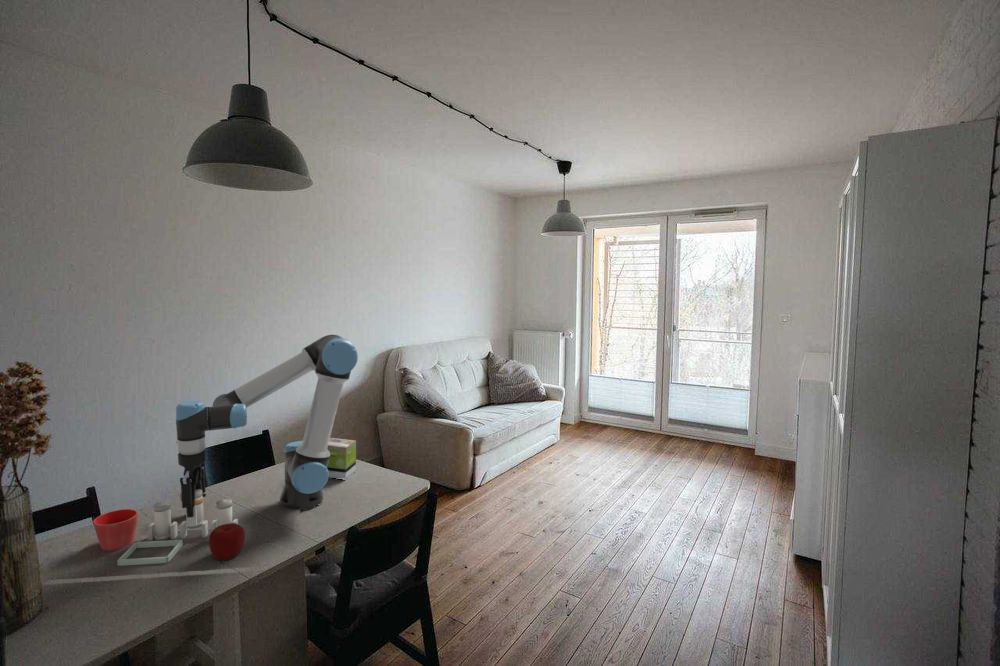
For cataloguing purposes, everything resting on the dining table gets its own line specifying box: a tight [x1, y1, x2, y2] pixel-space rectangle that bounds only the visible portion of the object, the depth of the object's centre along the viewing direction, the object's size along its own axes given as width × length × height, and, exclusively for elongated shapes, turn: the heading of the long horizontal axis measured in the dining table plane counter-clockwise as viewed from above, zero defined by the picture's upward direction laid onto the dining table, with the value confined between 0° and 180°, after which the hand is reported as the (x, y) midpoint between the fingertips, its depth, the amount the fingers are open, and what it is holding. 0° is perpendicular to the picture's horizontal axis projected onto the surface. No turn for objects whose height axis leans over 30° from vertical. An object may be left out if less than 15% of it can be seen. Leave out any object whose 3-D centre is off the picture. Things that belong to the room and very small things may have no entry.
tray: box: [116, 540, 184, 567], centre depth 152 cm, size 13×10×2 cm
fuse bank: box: [144, 518, 239, 544], centre depth 163 cm, size 27×8×6 cm, turn 101°
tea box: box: [327, 437, 357, 479], centre depth 218 cm, size 15×10×15 cm
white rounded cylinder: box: [215, 498, 234, 527], centre depth 164 cm, size 4×4×11 cm
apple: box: [208, 523, 246, 561], centre depth 153 cm, size 10×10×10 cm
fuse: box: [152, 500, 172, 541], centre depth 161 cm, size 4×4×11 cm
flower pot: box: [92, 508, 139, 551], centre depth 157 cm, size 11×11×10 cm
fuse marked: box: [187, 489, 204, 530], centre depth 163 cm, size 5×5×11 cm
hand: (195, 521), depth 163 cm, fingers closed on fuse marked, 5 cm apart
